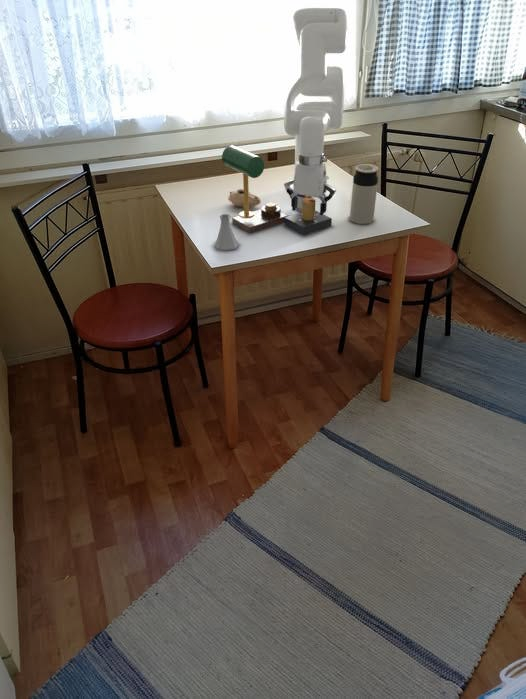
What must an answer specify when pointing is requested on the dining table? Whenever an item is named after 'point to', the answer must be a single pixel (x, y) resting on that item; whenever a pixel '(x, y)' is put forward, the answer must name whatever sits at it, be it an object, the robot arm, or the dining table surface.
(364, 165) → the travel mug
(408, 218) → the dining table surface
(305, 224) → the dimmer
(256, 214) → the lamp base
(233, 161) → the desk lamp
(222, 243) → the flask
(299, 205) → the energy drink
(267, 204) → the button
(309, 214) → the dimmer knob
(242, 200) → the pottery oil lamp
